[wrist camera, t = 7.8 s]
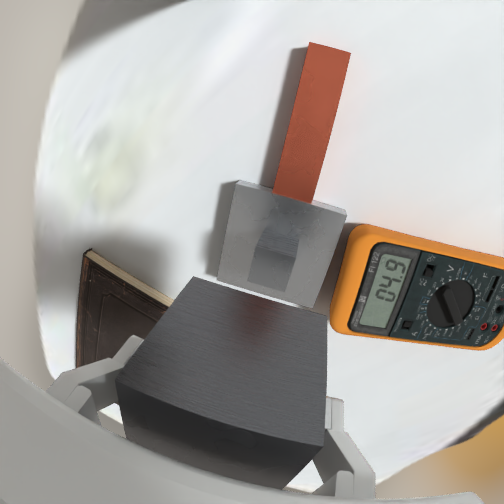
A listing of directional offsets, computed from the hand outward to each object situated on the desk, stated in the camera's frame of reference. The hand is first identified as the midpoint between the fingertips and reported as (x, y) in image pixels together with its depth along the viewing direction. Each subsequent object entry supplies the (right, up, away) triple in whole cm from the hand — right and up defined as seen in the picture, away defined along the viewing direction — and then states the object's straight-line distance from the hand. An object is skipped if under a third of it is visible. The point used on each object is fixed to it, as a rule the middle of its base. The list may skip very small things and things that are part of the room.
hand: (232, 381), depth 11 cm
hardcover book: (-13, -7, +23) cm, 27 cm away
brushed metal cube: (0, +1, +2) cm, 2 cm away
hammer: (+4, +11, +10) cm, 15 cm away
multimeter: (+16, +2, +11) cm, 20 cm away
